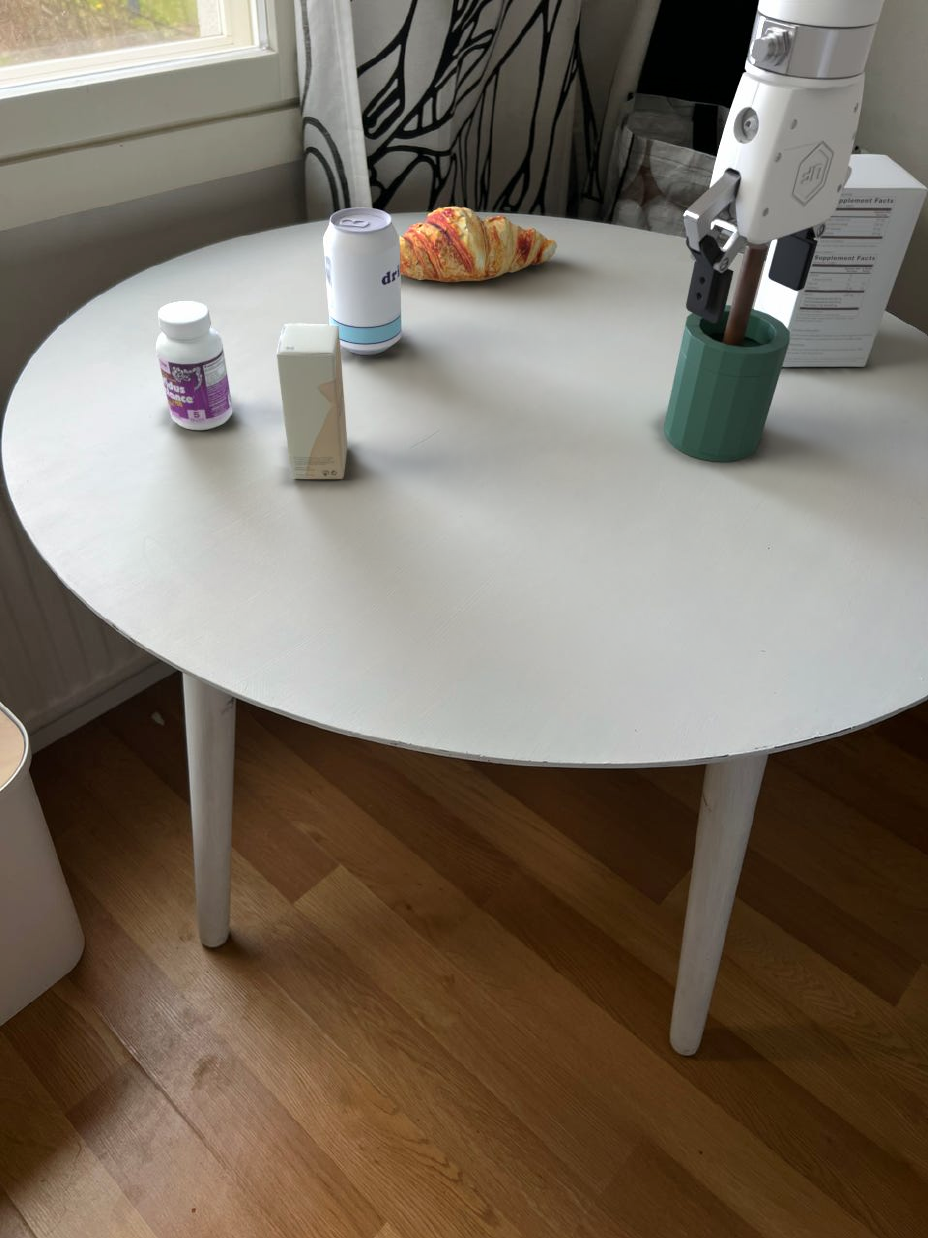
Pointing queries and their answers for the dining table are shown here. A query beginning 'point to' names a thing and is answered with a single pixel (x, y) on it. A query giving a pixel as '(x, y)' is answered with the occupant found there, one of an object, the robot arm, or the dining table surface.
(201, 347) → the pill bottle
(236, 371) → the dining table surface
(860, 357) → the supplement box
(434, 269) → the croissant
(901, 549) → the dining table surface
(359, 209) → the beverage can
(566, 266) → the dining table surface
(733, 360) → the jar
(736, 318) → the dowel with disc base
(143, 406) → the dining table surface
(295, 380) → the box
